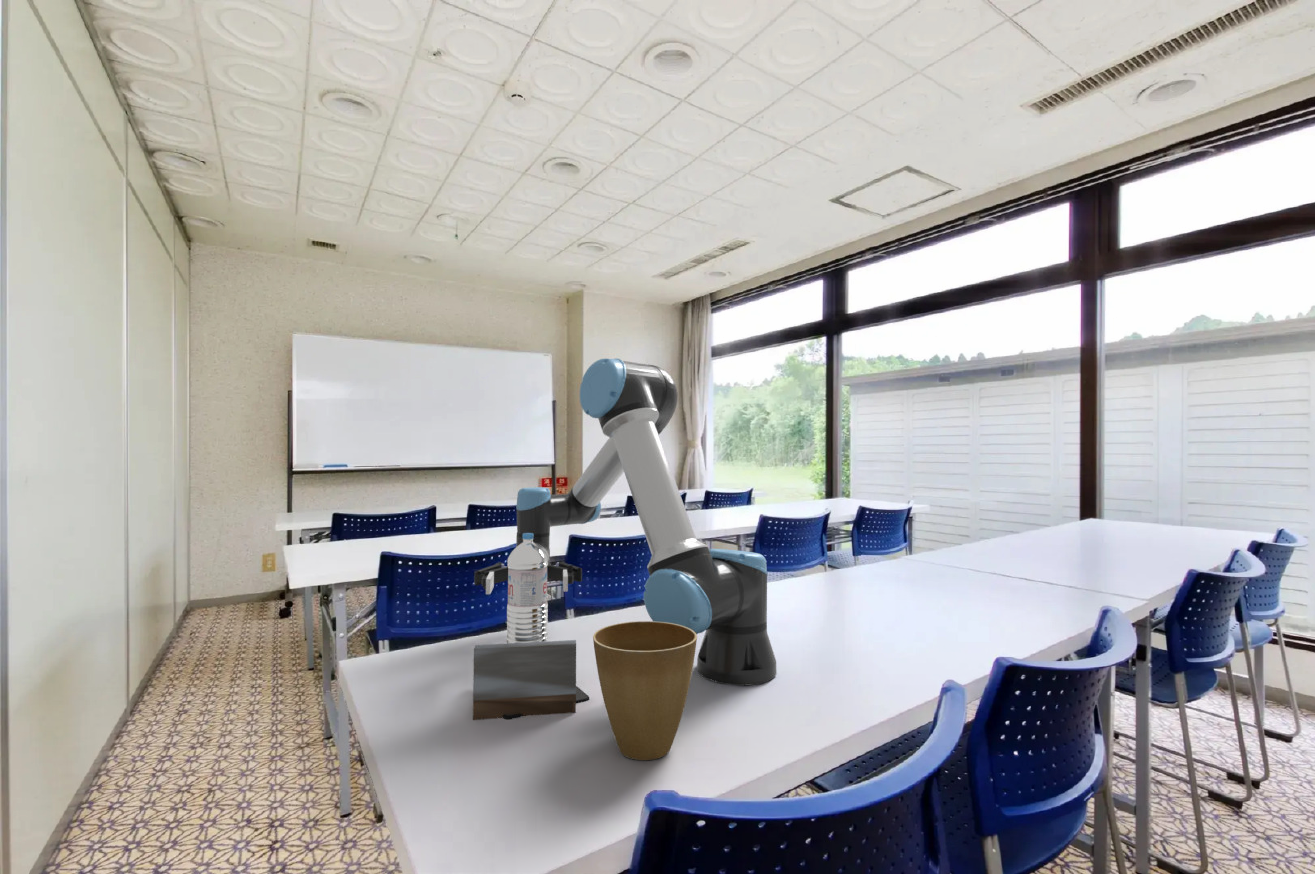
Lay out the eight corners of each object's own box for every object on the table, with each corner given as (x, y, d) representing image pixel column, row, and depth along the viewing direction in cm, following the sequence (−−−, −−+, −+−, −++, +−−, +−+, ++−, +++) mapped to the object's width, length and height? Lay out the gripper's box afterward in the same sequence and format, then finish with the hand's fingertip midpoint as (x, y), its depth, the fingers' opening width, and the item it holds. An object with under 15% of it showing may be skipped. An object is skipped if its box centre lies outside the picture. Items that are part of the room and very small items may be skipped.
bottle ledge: (483, 685, 105) (484, 623, 106) (573, 679, 108) (573, 619, 108) (472, 720, 92) (473, 649, 92) (575, 712, 94) (576, 643, 95)
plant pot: (718, 753, 82) (718, 638, 82) (628, 788, 73) (629, 659, 73) (657, 714, 94) (657, 614, 94) (573, 740, 85) (574, 630, 86)
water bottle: (537, 689, 96) (538, 536, 97) (499, 686, 97) (500, 535, 98) (553, 674, 103) (554, 531, 103) (517, 671, 104) (518, 530, 105)
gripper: (589, 578, 128) (596, 603, 107) (470, 582, 123) (454, 609, 103) (589, 544, 128) (597, 562, 107) (471, 547, 124) (455, 566, 103)
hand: (527, 585), depth 105 cm, fingers open, 13 cm apart
